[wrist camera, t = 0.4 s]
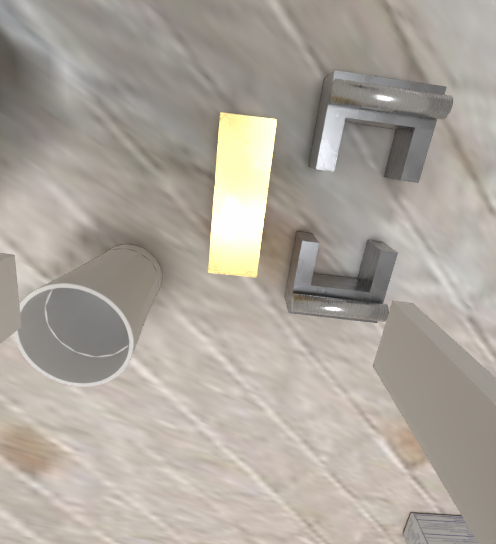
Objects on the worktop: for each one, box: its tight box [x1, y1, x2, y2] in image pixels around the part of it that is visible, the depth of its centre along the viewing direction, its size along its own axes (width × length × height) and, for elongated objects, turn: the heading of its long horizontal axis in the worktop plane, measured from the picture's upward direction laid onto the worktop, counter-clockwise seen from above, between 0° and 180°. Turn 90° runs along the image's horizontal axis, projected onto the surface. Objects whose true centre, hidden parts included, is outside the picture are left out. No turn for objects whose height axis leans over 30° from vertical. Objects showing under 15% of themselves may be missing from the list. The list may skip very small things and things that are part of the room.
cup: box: [14, 244, 162, 387], centre depth 29 cm, size 8×8×12 cm
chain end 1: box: [308, 70, 453, 183], centre depth 27 cm, size 7×8×5 cm
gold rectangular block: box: [208, 112, 277, 277], centre depth 29 cm, size 12×4×6 cm, turn 174°
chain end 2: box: [285, 231, 398, 323], centre depth 32 cm, size 7×8×5 cm
